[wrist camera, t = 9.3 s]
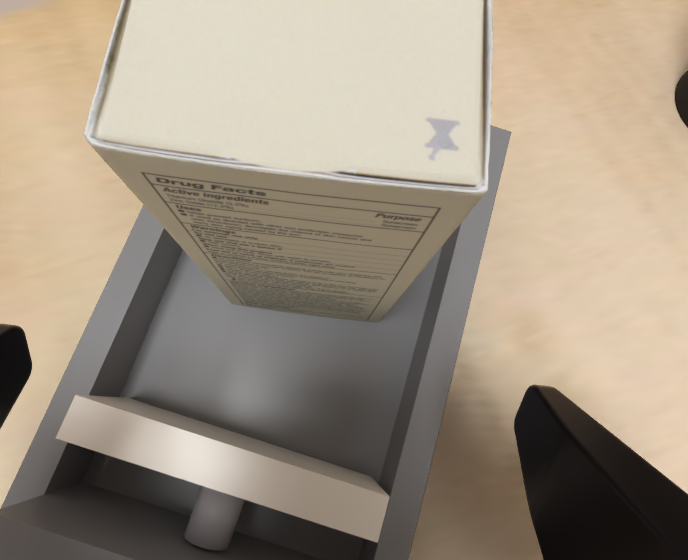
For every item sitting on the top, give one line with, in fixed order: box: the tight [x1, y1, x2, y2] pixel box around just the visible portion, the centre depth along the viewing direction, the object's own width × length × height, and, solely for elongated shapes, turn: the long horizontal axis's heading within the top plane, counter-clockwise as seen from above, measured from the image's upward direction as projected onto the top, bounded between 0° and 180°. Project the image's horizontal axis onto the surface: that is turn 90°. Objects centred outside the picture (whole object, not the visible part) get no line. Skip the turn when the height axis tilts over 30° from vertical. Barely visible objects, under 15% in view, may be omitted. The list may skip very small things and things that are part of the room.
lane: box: [0, 125, 511, 560], centre depth 17 cm, size 12×18×6 cm, turn 163°
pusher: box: [56, 395, 390, 551], centre depth 15 cm, size 9×3×4 cm, turn 73°
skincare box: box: [84, 0, 493, 322], centre depth 13 cm, size 6×4×12 cm
